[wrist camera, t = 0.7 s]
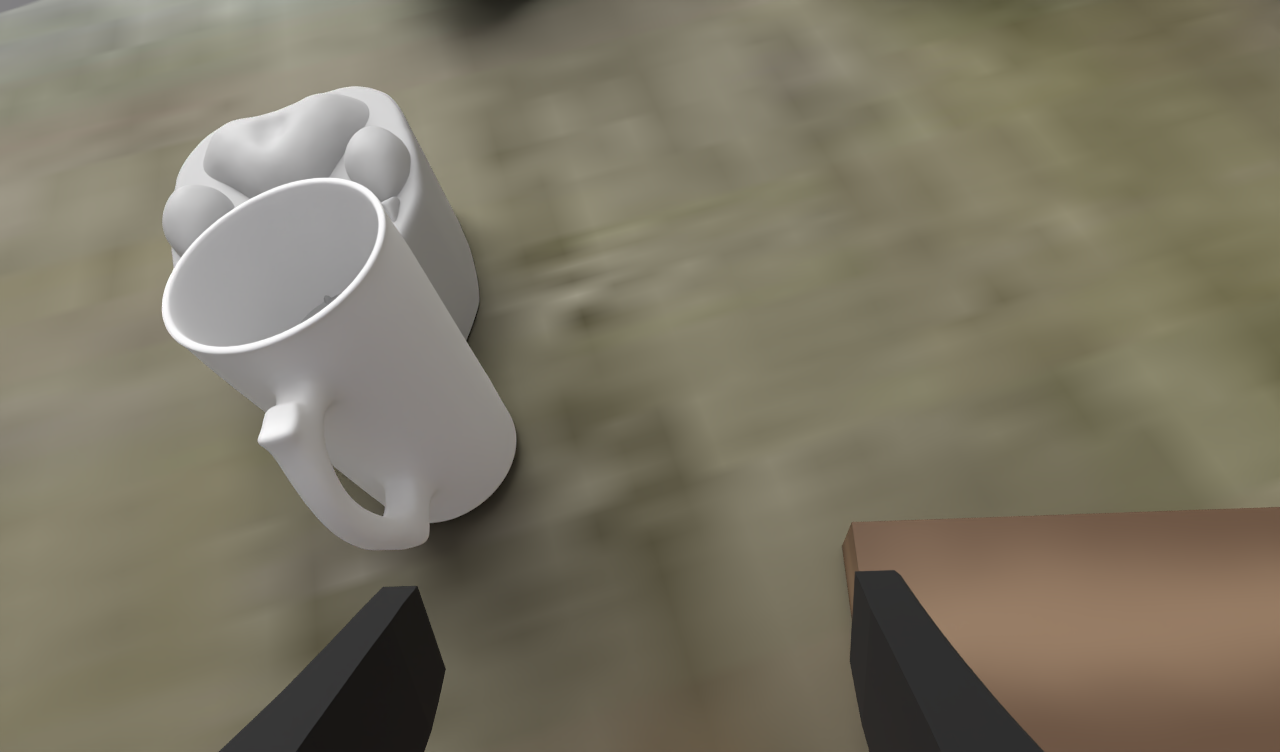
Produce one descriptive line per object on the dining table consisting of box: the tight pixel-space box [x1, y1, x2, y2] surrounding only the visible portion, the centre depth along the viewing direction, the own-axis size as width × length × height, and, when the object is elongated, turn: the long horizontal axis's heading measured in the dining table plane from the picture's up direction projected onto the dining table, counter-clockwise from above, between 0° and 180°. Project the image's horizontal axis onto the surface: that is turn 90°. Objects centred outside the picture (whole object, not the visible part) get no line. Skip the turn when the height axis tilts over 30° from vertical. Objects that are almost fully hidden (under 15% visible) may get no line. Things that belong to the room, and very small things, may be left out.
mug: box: [162, 178, 516, 550], centre depth 24 cm, size 10×7×12 cm, turn 11°
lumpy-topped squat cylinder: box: [162, 86, 479, 340], centre depth 31 cm, size 10×13×9 cm
